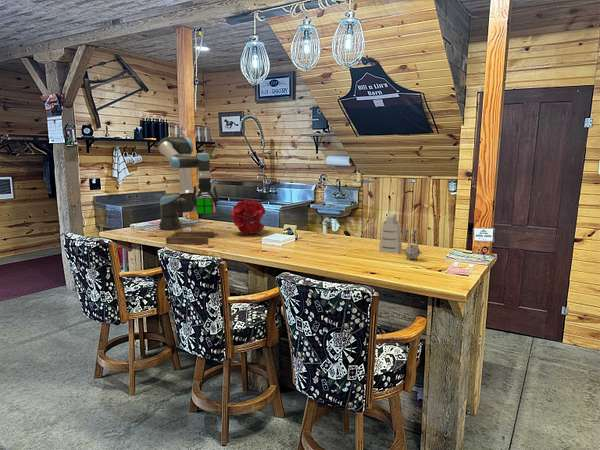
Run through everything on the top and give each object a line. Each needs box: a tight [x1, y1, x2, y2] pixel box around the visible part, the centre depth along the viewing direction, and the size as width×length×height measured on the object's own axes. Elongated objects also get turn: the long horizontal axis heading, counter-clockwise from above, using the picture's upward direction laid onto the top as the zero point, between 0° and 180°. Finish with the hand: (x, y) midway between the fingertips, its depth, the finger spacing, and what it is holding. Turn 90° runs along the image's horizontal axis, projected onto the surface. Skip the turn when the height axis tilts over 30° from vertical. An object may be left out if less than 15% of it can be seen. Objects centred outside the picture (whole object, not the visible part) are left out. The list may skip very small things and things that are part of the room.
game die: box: [402, 242, 422, 261], centre depth 215 cm, size 9×8×10 cm
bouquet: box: [230, 198, 267, 235], centre depth 286 cm, size 22×24×30 cm
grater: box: [378, 213, 403, 254], centre depth 233 cm, size 10×10×20 cm
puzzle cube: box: [196, 195, 214, 215], centre depth 276 cm, size 10×10×10 cm
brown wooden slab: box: [165, 231, 215, 246], centre depth 262 cm, size 19×24×4 cm
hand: (206, 212), depth 276 cm, fingers closed on puzzle cube, 10 cm apart
